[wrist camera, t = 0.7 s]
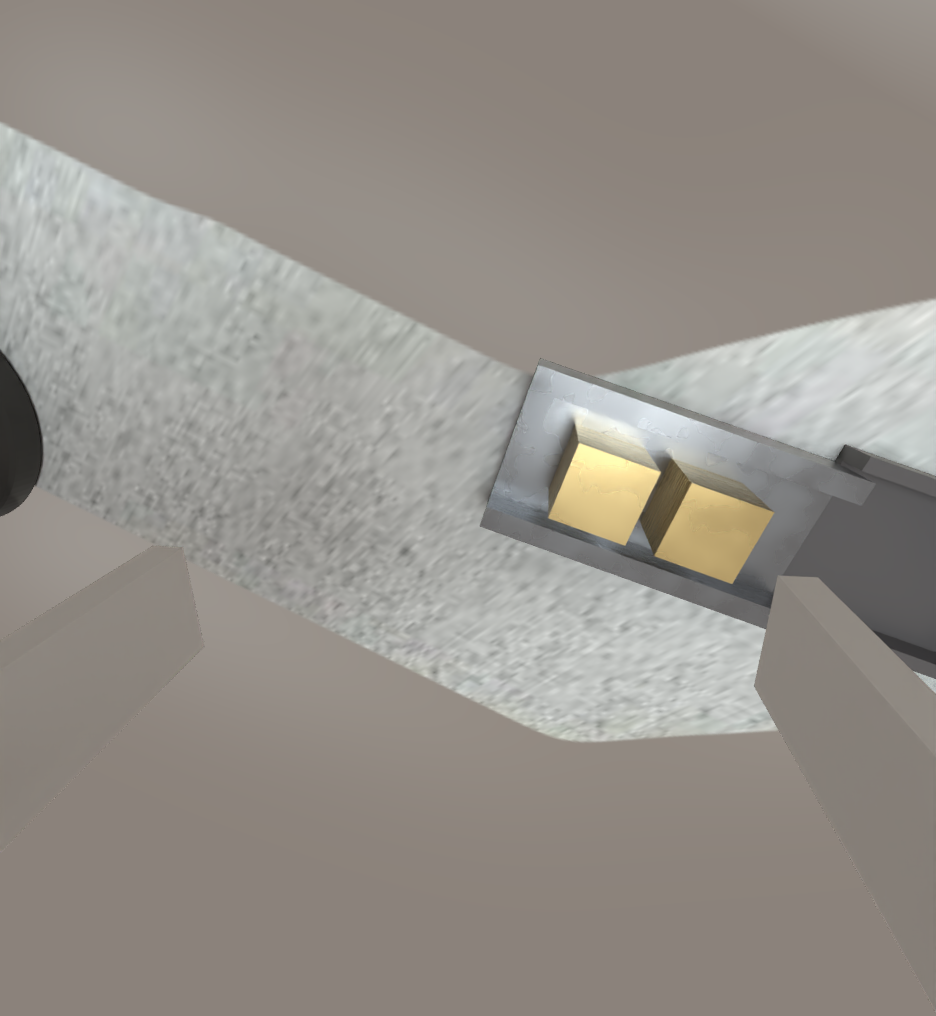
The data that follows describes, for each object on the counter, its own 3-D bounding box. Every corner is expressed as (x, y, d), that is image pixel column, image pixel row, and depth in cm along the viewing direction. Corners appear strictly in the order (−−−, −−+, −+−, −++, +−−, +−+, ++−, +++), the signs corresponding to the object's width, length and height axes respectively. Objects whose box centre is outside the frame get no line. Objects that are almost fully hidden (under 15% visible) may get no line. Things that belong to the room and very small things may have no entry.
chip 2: (640, 522, 31) (654, 556, 26) (671, 458, 29) (691, 482, 25) (707, 546, 30) (732, 584, 26) (742, 483, 29) (774, 512, 25)
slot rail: (488, 501, 33) (479, 526, 29) (540, 357, 30) (538, 364, 26) (752, 596, 33) (777, 633, 29) (835, 461, 29) (876, 483, 26)
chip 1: (548, 489, 31) (547, 518, 26) (575, 423, 29) (579, 443, 25) (615, 513, 31) (625, 545, 26) (645, 448, 29) (661, 472, 25)
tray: (752, 596, 33) (767, 618, 30) (845, 444, 29) (871, 456, 27) (942, 664, 32) (972, 692, 30) (1061, 520, 29) (1106, 538, 26)
